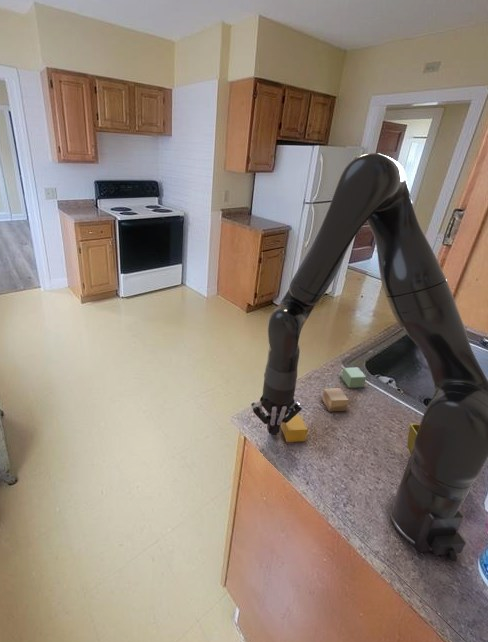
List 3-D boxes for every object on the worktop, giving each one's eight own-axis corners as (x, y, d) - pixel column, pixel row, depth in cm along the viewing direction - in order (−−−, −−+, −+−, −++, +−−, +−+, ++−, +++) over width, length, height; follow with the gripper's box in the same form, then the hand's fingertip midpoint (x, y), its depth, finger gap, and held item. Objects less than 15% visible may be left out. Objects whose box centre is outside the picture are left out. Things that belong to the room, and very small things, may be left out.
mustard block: (305, 441, 83) (307, 429, 81) (286, 442, 82) (288, 430, 81) (298, 425, 88) (300, 414, 86) (280, 426, 87) (282, 415, 86)
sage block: (363, 387, 103) (366, 376, 101) (348, 387, 102) (351, 377, 101) (355, 377, 108) (357, 367, 106) (341, 377, 107) (343, 367, 106)
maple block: (345, 410, 93) (348, 399, 92) (329, 411, 93) (331, 400, 91) (337, 398, 98) (340, 388, 96) (321, 399, 97) (324, 388, 96)
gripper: (257, 390, 73) (251, 446, 80) (312, 388, 75) (302, 443, 81) (249, 370, 80) (244, 423, 87) (300, 368, 82) (292, 420, 88)
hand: (272, 432), depth 84 cm, fingers closed
